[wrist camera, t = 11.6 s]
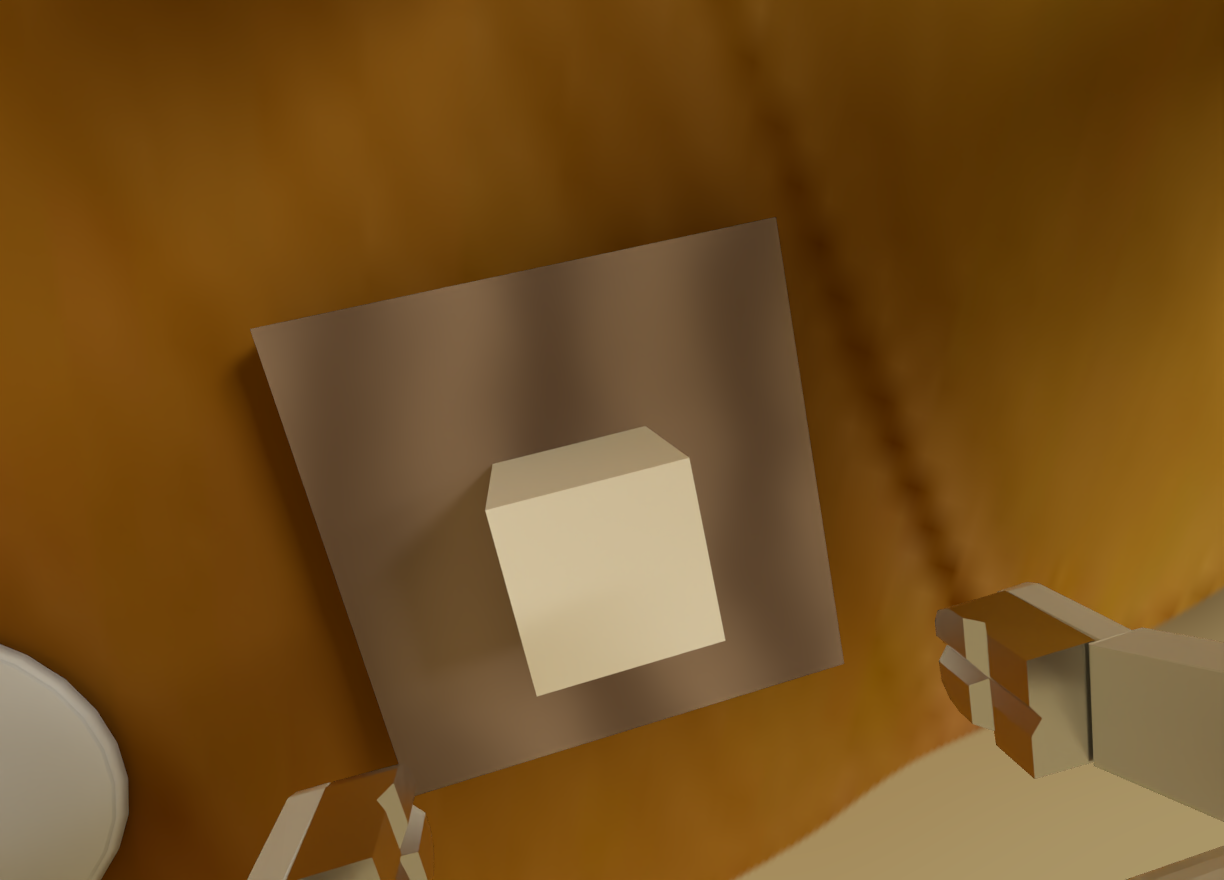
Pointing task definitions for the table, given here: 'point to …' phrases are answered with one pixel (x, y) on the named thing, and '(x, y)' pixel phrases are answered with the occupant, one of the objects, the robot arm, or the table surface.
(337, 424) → the walnut base
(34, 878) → the chalice
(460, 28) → the table surface
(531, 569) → the off-white cube
